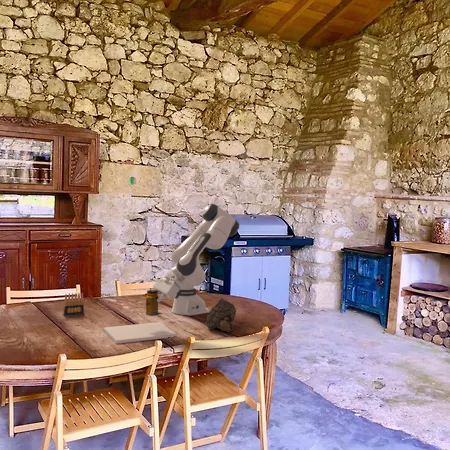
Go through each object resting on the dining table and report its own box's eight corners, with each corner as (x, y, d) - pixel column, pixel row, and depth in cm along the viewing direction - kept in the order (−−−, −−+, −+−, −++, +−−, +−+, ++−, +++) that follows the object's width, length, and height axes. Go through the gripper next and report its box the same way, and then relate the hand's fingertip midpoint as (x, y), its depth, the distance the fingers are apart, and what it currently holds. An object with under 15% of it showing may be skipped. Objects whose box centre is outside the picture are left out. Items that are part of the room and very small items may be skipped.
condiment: (142, 314, 241) (142, 290, 240) (155, 311, 247) (155, 288, 246) (151, 316, 236) (152, 292, 235) (164, 313, 242) (165, 290, 242)
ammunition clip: (64, 315, 265) (64, 293, 264) (63, 314, 266) (63, 293, 265) (83, 313, 270) (84, 292, 269) (83, 312, 272) (83, 291, 271)
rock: (214, 293, 260) (234, 293, 249) (228, 310, 266) (248, 311, 255) (197, 320, 249) (217, 321, 239) (212, 337, 256) (232, 339, 245)
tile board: (159, 324, 255) (160, 322, 255) (176, 336, 236) (176, 333, 235) (103, 330, 240) (103, 327, 240) (116, 343, 221) (116, 340, 221)
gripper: (161, 272, 253) (143, 291, 249) (177, 278, 235) (158, 300, 231) (169, 279, 256) (151, 299, 251) (185, 287, 238) (166, 308, 234)
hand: (154, 299), depth 241 cm, fingers closed on condiment, 6 cm apart
